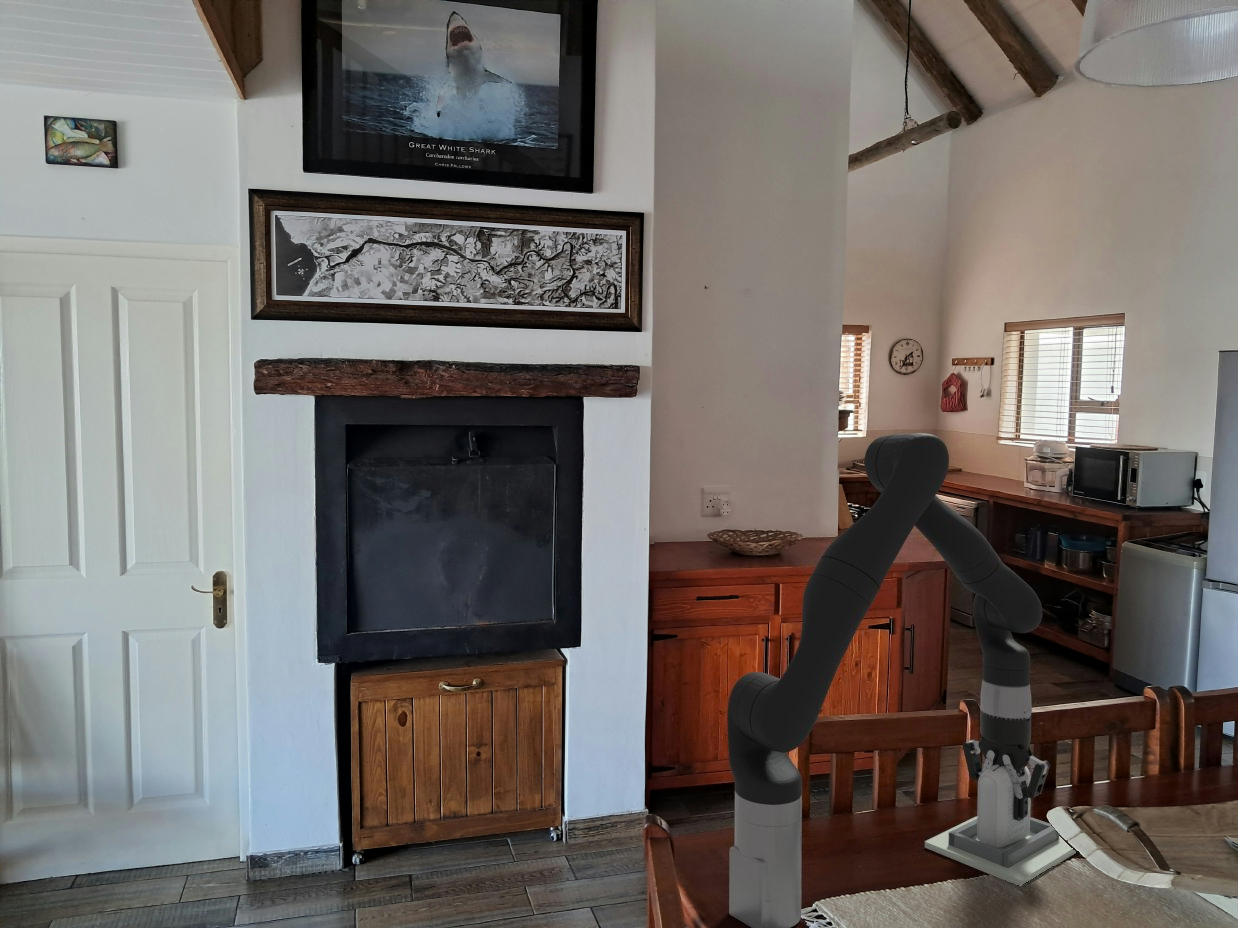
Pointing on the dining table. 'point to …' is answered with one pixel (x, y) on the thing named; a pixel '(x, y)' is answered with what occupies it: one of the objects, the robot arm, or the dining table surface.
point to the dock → (1004, 851)
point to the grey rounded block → (999, 809)
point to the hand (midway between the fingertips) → (1004, 813)
